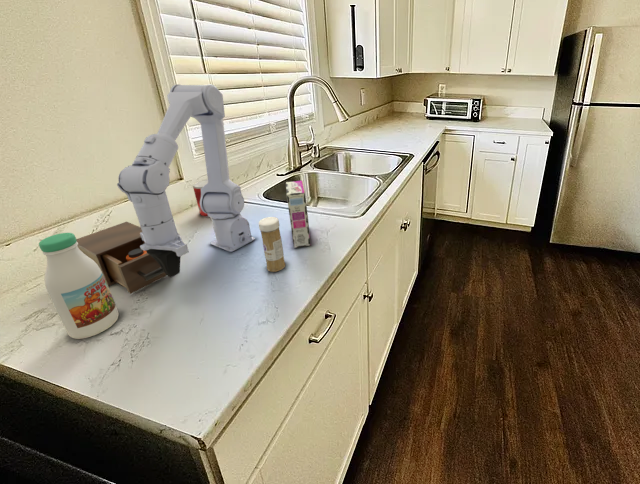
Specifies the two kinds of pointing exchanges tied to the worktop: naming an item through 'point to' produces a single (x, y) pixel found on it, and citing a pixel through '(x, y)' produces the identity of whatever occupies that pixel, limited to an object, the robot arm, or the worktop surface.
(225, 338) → the worktop surface
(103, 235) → the cabinet
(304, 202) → the candy bar box
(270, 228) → the sprinkles bottle
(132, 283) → the drawer
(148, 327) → the worktop surface
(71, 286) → the milk bottle
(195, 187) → the red coffee cup
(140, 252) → the orange cylinder
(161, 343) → the worktop surface
